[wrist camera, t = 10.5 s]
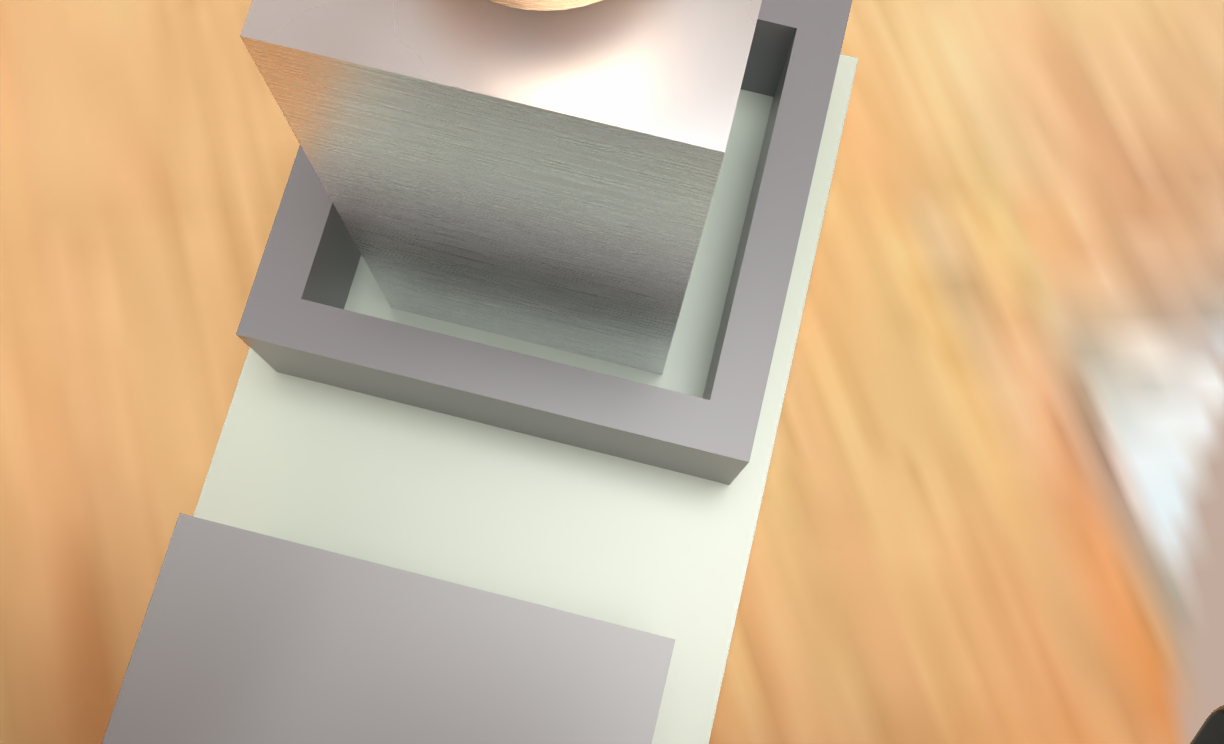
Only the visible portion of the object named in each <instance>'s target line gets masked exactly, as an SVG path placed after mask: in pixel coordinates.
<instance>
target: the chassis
mask: <svg viewBox="0 0 1224 744" xmlns="http://www.w3.org/2000/svg"><path fill="white" fill-rule="evenodd" d="M851 3H852V0H762V3H761V7H760V11H759V15H758V19H757V23H756V27H755V31H754V35H753V39H752V43H751V48H750V52H749V56H748V60H747V64H746V68H745V72H744V76H743V80H742V84H741V88H740V93H739V97H738V101H737V105H736V109H735V113H734V117H733V121H732V125H731V129H730V133H729V138H728V142H727V146H726V150H725V154H724V157H723V161H722V164H721V168H720V171H719V175H718V179H717V182H716V186H715V189H714V193H713V196H712V200H711V203H710V207H709V211H708V214H707V218H706V221H705V225H704V228H703V232H702V235H701V239H700V242H699V246H698V250H697V253H696V257H695V260H694V264H693V267H692V271H691V274H690V278H689V282H688V285H687V289H686V292H685V296H684V299H683V303H682V306H681V310H680V313H679V317H678V321H677V324H676V328H675V331H674V335H673V338H672V342H671V345H670V349H669V353H668V356H667V360H666V363H665V367H664V370H663V374H662V375H660V374H656V373H652V372H648V371H644V370H640V369H636V368H632V367H628V366H624V365H619V364H615V363H611V362H607V361H603V360H599V359H595V358H591V357H587V356H583V355H579V354H575V353H571V352H567V351H563V350H559V349H555V348H551V347H547V346H543V345H539V344H535V343H531V342H527V341H523V340H519V339H515V338H511V337H507V336H502V335H498V334H494V333H490V332H486V331H482V330H478V329H474V328H470V327H466V326H462V325H458V324H454V323H450V322H446V321H442V320H438V319H434V318H430V317H426V316H422V315H418V314H414V313H410V312H406V311H402V310H398V309H394V308H391V307H390V305H389V303H388V302H387V300H386V298H385V296H384V294H383V292H382V291H381V289H380V287H379V285H378V283H377V282H376V280H375V278H374V276H373V274H372V273H371V271H370V269H369V267H368V265H367V264H366V262H365V260H364V258H363V256H362V255H361V253H360V251H359V249H358V247H357V246H356V244H355V242H354V240H353V238H352V237H351V235H350V233H349V231H348V229H347V228H346V226H345V224H344V222H343V220H342V219H341V217H340V215H339V213H338V211H337V210H336V208H335V206H334V204H333V202H332V201H331V199H330V197H329V195H328V193H327V192H326V190H325V188H324V186H323V184H322V183H321V181H320V179H319V177H318V175H317V174H316V172H315V170H314V168H313V166H312V165H311V163H310V161H309V159H308V157H307V156H306V154H305V152H304V150H303V148H302V147H301V145H300V147H299V150H298V153H297V156H296V159H295V161H294V164H293V167H292V170H291V173H290V176H289V179H288V182H287V185H286V188H285V191H284V194H283V197H282V200H281V203H280V206H279V209H278V212H277V215H276V218H275V221H274V224H273V227H272V230H271V232H270V235H269V238H268V241H267V244H266V247H265V250H264V253H263V256H262V259H261V262H260V265H259V268H258V271H257V274H256V277H255V280H254V283H253V286H252V289H251V292H250V295H249V298H248V301H247V303H246V306H245V309H244V312H243V315H242V318H241V321H240V324H239V327H238V330H237V333H236V335H237V336H238V337H240V338H241V339H242V340H243V341H244V342H245V343H246V344H247V345H248V346H249V347H250V348H249V351H248V354H247V357H246V360H245V363H244V366H243V369H242V372H241V375H240V378H239V381H238V384H237V387H236V390H235V393H234V396H233V399H232V402H231V405H230V408H229V411H228V414H227V417H226V420H225V423H224V426H223V429H222V432H221V435H220V438H219V441H218V444H217V447H216V450H215V453H214V456H213V459H212V462H211V465H210V468H209V471H208V474H207V477H206V480H205V483H204V486H203V489H202V492H201V495H200V498H199V501H198V504H197V507H196V510H195V513H194V516H189V515H185V514H181V513H180V514H179V517H178V520H177V523H176V526H175V529H174V532H173V535H172V538H171V541H170V544H169V547H168V550H167V553H166V555H165V558H164V561H163V564H162V567H161V570H160V573H159V576H158V579H157V582H156V585H155V588H154V591H153V594H152V597H151V600H150V603H149V606H148V609H147V612H146V615H145V618H144V621H143V624H142V627H141V630H140V633H139V636H138V639H137V641H136V644H135V647H134V650H133V653H132V656H131V659H130V662H129V665H128V668H127V671H126V674H125V677H124V680H123V683H122V686H121V689H120V692H119V695H118V698H117V701H116V704H115V707H114V710H113V713H112V716H111V719H110V722H109V725H108V727H107V730H106V733H105V736H104V739H103V742H102V744H708V743H709V739H710V734H711V730H712V725H713V720H714V716H715V711H716V707H717V702H718V698H719V693H720V688H721V684H722V679H723V675H724V670H725V665H726V661H727V656H728V652H729V647H730V643H731V638H732V633H733V629H734V624H735V620H736V615H737V611H738V606H739V601H740V597H741V592H742V588H743V583H744V579H745V574H746V569H747V565H748V560H749V556H750V551H751V547H752V542H753V537H754V533H755V528H756V524H757V519H758V514H759V510H760V505H761V501H762V496H763V492H764V487H765V482H766V478H767V473H768V469H769V464H770V460H771V455H772V450H773V446H774V441H775V437H776V432H777V428H778V423H779V418H780V414H781V409H782V405H783V400H784V396H785V391H786V386H787V382H788V377H789V373H790V368H791V363H792V359H793V354H794V350H795V345H796V341H797V336H798V331H799V327H800V322H801V318H802V313H803V309H804V304H805V299H806V295H807V290H808V286H809V281H810V277H811V272H812V267H813V263H814V258H815V254H816V249H817V245H818V240H819V235H820V231H821V226H822V222H823V217H824V212H825V208H826V203H827V199H828V194H829V190H830V185H831V180H832V176H833V171H834V167H835V162H836V158H837V153H838V148H839V144H840V139H841V135H842V130H843V126H844V121H845V116H846V112H847V107H848V103H849V98H850V94H851V89H852V84H853V80H854V75H855V71H856V66H857V61H858V58H855V57H851V56H847V55H843V54H840V53H841V48H842V44H843V39H844V35H845V30H846V26H847V21H848V17H849V12H850V8H851Z"/></svg>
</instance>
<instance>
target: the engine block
mask: <svg viewBox="0 0 1224 744" xmlns="http://www.w3.org/2000/svg"><path fill="white" fill-rule="evenodd" d="M761 3H762V0H253V1H252V4H251V7H250V10H249V12H248V15H247V18H246V21H245V23H244V26H243V29H242V32H241V35H240V37H241V38H242V40H243V42H244V44H245V46H246V47H247V49H248V51H249V53H250V55H251V56H252V58H253V60H254V62H255V64H256V65H257V67H258V69H259V71H260V73H261V74H262V76H263V78H264V80H265V82H266V83H267V85H268V87H269V89H270V91H271V92H272V94H273V96H274V98H275V100H276V101H277V103H278V105H279V107H280V109H281V110H282V112H283V114H284V116H285V118H286V120H287V121H288V123H289V125H290V127H291V129H292V130H293V132H294V134H295V136H296V138H297V139H298V141H299V143H300V145H301V147H302V148H303V150H304V152H305V154H306V156H307V157H308V159H309V161H310V163H311V165H312V166H313V168H314V170H315V172H316V174H317V175H318V177H319V179H320V181H321V183H322V184H323V186H324V188H325V190H326V192H327V193H328V195H329V197H330V199H331V201H332V202H333V204H334V206H335V208H336V210H337V211H338V213H339V215H340V217H341V219H342V220H343V222H344V224H345V226H346V228H347V229H348V231H349V233H350V235H351V237H352V238H353V240H354V242H355V244H356V246H357V247H358V249H359V251H360V253H361V255H362V256H363V258H364V260H365V262H366V264H367V265H368V267H369V269H370V271H371V273H372V274H373V276H374V278H375V280H376V282H377V283H378V285H379V287H380V289H381V291H382V292H383V294H384V296H385V298H386V300H387V302H388V303H389V305H390V307H391V308H394V309H398V310H402V311H406V312H410V313H414V314H418V315H422V316H426V317H430V318H434V319H438V320H442V321H446V322H450V323H454V324H458V325H462V326H466V327H470V328H474V329H478V330H482V331H486V332H490V333H494V334H498V335H502V336H507V337H511V338H515V339H519V340H523V341H527V342H531V343H535V344H539V345H543V346H547V347H551V348H555V349H559V350H563V351H567V352H571V353H575V354H579V355H583V356H587V357H591V358H595V359H599V360H603V361H607V362H611V363H615V364H619V365H624V366H628V367H632V368H636V369H640V370H644V371H648V372H652V373H656V374H660V375H662V374H663V370H664V367H665V363H666V360H667V356H668V353H669V349H670V345H671V342H672V338H673V335H674V331H675V328H676V324H677V321H678V317H679V313H680V310H681V306H682V303H683V299H684V296H685V292H686V289H687V285H688V282H689V278H690V274H691V271H692V267H693V264H694V260H695V257H696V253H697V250H698V246H699V242H700V239H701V235H702V232H703V228H704V225H705V221H706V218H707V214H708V211H709V207H710V203H711V200H712V196H713V193H714V189H715V186H716V182H717V179H718V175H719V171H720V168H721V164H722V161H723V157H724V154H725V150H726V146H727V142H728V138H729V133H730V129H731V125H732V121H733V117H734V113H735V109H736V105H737V101H738V97H739V93H740V88H741V84H742V80H743V76H744V72H745V68H746V64H747V60H748V56H749V52H750V48H751V43H752V39H753V35H754V31H755V27H756V23H757V19H758V15H759V11H760V7H761Z"/></svg>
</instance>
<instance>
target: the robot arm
mask: <svg viewBox="0 0 1224 744" xmlns="http://www.w3.org/2000/svg"><path fill="white" fill-rule="evenodd" d="M1190 744H1224V705H1223V706H1220V707H1219V708H1217V709H1216V710H1214V711H1213V712H1212V713H1211V714H1210V715H1209V717H1208V718H1207V719H1206V721H1205V722H1204V724H1203V725H1202V727H1201V728H1200V730H1199V731H1198V733H1197V734H1196V736H1195V737H1194V739H1193V740H1192V742H1191V743H1190Z"/></svg>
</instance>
